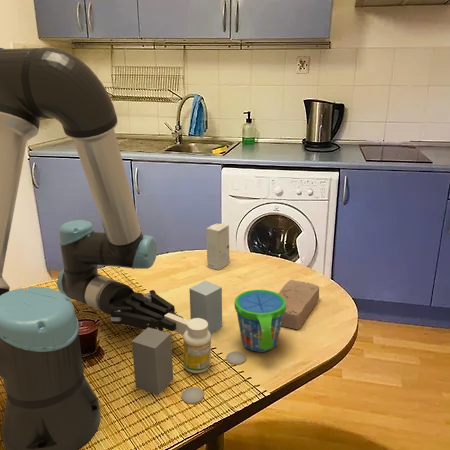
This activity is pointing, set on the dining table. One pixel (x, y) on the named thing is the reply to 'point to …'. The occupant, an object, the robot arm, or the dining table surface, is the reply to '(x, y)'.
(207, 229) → the skincare box
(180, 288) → the dining table surface
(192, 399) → the coaster left
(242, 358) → the coaster right
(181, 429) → the dining table surface
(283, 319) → the brick
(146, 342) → the post charcoal
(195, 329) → the supplement bottle
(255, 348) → the snack cup
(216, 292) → the light grey rectangular block
